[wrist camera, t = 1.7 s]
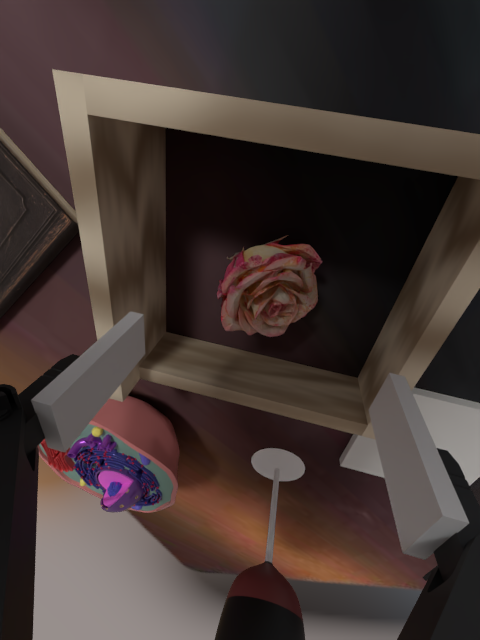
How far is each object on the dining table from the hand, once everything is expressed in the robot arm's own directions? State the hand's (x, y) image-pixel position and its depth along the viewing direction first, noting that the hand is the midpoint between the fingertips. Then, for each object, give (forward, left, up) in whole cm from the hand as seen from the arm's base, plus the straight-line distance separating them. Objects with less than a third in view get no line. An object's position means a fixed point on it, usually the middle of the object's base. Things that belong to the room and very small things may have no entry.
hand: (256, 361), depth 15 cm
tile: (+16, +20, -12) cm, 28 cm away
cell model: (+25, -15, -13) cm, 31 cm away
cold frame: (0, 0, -12) cm, 12 cm away
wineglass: (+28, +6, -12) cm, 31 cm away
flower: (0, 0, -12) cm, 12 cm away
